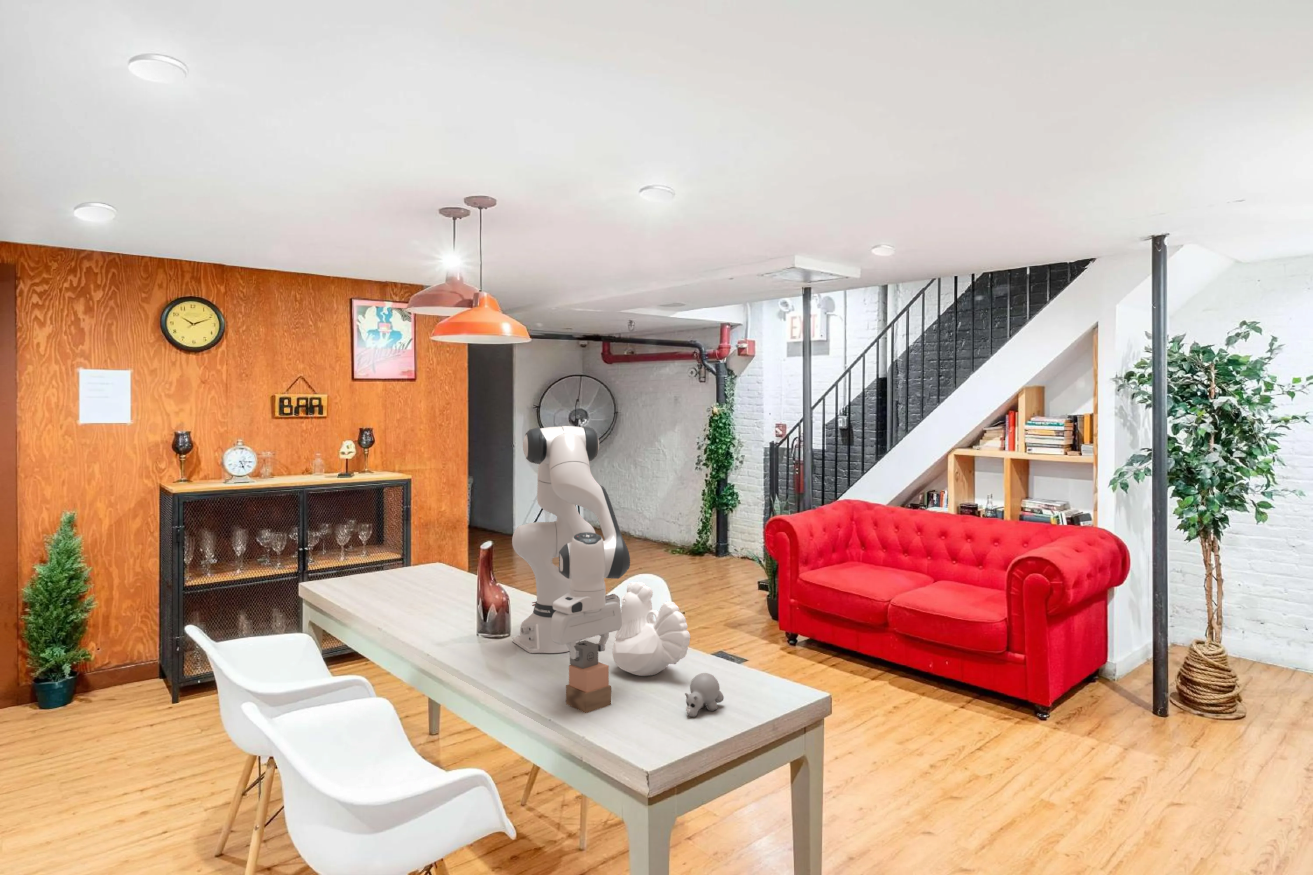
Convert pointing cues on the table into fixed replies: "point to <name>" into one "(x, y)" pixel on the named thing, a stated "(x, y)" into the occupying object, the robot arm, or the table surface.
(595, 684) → the terracotta top block
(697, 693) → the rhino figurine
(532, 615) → the robot arm
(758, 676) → the table surface
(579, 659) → the dice cube
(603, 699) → the walnut base block
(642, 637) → the decorative rooster
